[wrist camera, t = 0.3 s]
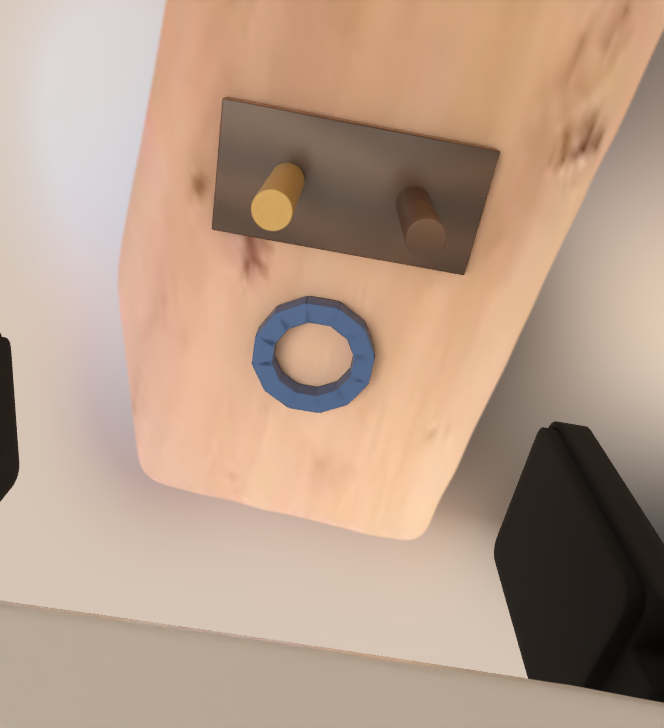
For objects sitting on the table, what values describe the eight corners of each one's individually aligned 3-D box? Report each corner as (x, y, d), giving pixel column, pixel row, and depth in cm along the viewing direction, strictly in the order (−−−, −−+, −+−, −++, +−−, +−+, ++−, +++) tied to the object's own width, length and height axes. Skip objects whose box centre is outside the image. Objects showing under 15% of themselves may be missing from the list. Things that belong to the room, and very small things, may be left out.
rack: (225, 96, 41) (189, 110, 32) (496, 148, 42) (535, 175, 33) (214, 225, 46) (179, 269, 36) (461, 270, 46) (487, 324, 37)
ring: (263, 287, 48) (260, 294, 46) (383, 308, 48) (384, 316, 47) (250, 391, 52) (247, 401, 51) (360, 410, 53) (360, 420, 51)
